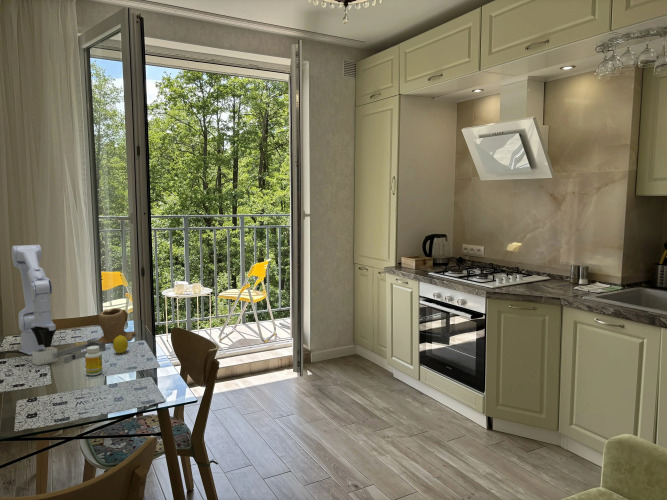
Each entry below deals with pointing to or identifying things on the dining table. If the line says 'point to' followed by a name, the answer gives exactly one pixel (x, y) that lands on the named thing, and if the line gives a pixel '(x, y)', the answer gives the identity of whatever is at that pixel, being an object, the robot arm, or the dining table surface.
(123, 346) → the lemon
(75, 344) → the brass key tag
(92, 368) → the supplement bottle
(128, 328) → the dining table surface
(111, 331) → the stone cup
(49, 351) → the block
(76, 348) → the socket
